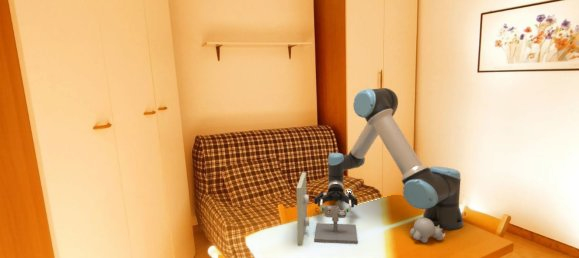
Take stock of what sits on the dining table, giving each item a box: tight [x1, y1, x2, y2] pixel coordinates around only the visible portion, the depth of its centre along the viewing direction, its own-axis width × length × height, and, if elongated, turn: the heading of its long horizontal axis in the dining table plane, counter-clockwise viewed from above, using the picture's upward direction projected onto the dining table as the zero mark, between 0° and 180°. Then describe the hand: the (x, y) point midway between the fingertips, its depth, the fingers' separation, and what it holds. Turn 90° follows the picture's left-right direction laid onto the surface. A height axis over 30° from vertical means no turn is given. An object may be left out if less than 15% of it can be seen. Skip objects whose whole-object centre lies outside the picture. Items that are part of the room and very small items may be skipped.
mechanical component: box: [321, 204, 350, 232], centre depth 132 cm, size 3×10×10 cm, turn 78°
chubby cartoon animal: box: [409, 217, 446, 244], centre depth 125 cm, size 7×12×8 cm, turn 87°
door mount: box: [296, 172, 359, 246], centre depth 131 cm, size 22×20×22 cm
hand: (335, 208), depth 139 cm, fingers open, 11 cm apart
